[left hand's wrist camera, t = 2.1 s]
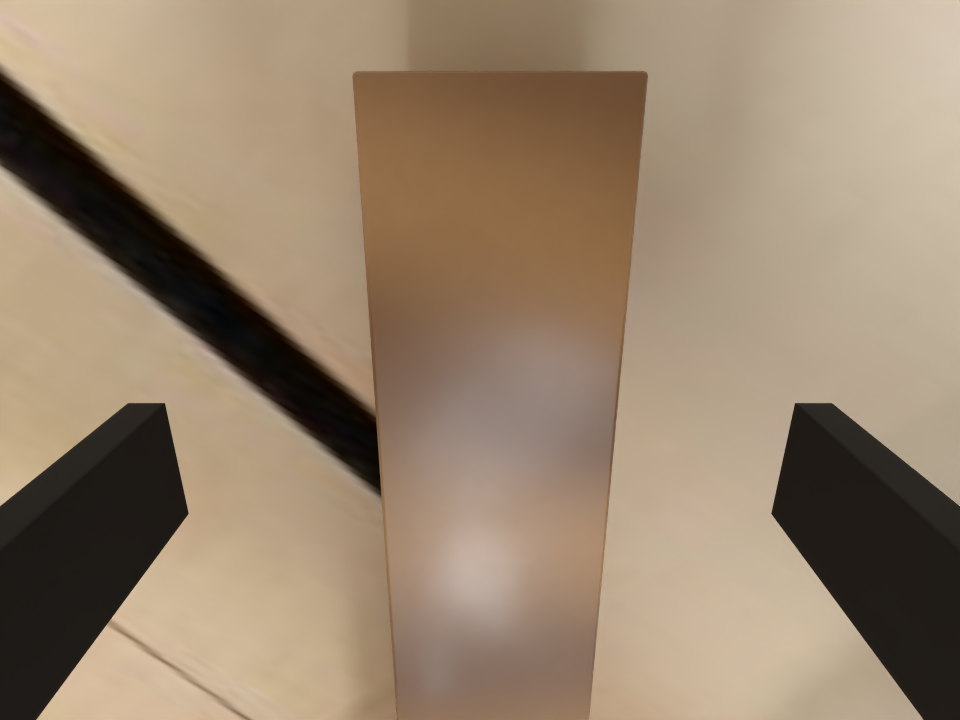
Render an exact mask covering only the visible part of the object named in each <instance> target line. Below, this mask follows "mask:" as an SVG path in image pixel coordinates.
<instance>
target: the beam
mask: <svg viewBox="0 0 960 720" xmlns="http://www.w3.org/2000/svg"><path fill="white" fill-rule="evenodd" d="M647 80H648V75H647V72H644V71H357V72H355V73H354V74H353V88H354V103H355V117H356V132H357V146H358V161H359V175H360V190H361V204H362V218H363V233H364V247H365V262H366V276H367V291H368V305H369V320H370V334H371V348H372V363H373V377H374V392H375V406H376V421H377V435H378V450H379V464H380V478H381V493H382V507H383V522H384V536H385V551H386V565H387V579H388V594H389V608H390V623H391V637H392V652H393V666H394V681H395V695H396V709H397V720H589V712H590V701H591V691H592V680H593V669H594V658H595V647H596V636H597V625H598V614H599V603H600V592H601V581H602V571H603V560H604V549H605V538H606V527H607V516H608V505H609V494H610V483H611V472H612V461H613V451H614V440H615V429H616V418H617V407H618V396H619V385H620V374H621V363H622V352H623V342H624V331H625V320H626V309H627V298H628V287H629V276H630V265H631V254H632V243H633V232H634V222H635V211H636V200H637V189H638V178H639V167H640V156H641V145H642V134H643V123H644V112H645V102H646V91H647Z"/></svg>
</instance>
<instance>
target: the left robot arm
mask: <svg viewBox="0 0 960 720" xmlns="http://www.w3.org/2000/svg"><path fill="white" fill-rule="evenodd" d="M188 514H189V513H188V509H187V504H186V499H185V495H184V490H183V485H182V481H181V476H180V472H179V467H178V462H177V458H176V453H175V448H174V444H173V439H172V434H171V430H170V425H169V420H168V416H167V411H166V406H165V403H128V404H127V405H125V406H124V407H123V408H122V409H120V410H119V411H118V412H117V413H115V414H114V415H113V416H112V417H111V418H109V419H108V420H107V421H106V422H104V423H103V424H102V425H101V426H99V427H98V428H97V429H96V430H94V431H93V432H92V433H91V434H89V435H88V436H87V437H86V438H84V439H83V440H82V441H81V442H79V443H78V444H77V445H76V446H74V447H73V448H72V449H71V450H70V451H68V452H67V453H66V454H65V455H63V456H62V457H61V458H60V459H58V460H57V461H56V462H55V463H53V464H52V465H51V466H50V467H48V468H47V469H46V470H45V471H43V472H42V473H41V474H40V475H38V476H37V477H36V478H35V479H34V480H32V481H31V482H30V483H29V484H27V485H26V486H25V487H24V488H22V489H21V490H20V491H19V492H17V493H16V494H15V495H14V496H12V497H11V498H10V499H9V500H7V501H6V502H5V503H4V504H2V505H1V506H0V720H36V719H37V718H38V717H39V715H40V714H41V713H42V711H43V710H44V709H45V707H46V706H47V705H48V703H49V702H50V700H51V699H52V698H53V696H54V695H55V694H56V692H57V691H58V690H59V688H60V687H61V686H62V684H63V683H64V682H65V680H66V679H67V677H68V676H69V675H70V673H71V672H72V671H73V669H74V668H75V667H76V665H77V664H78V663H79V661H80V660H81V659H82V657H83V656H84V654H85V653H86V652H87V650H88V649H89V648H90V646H91V645H92V644H93V642H94V641H95V640H96V638H97V637H98V636H99V634H100V633H101V632H102V630H103V629H104V627H105V626H106V625H107V623H108V622H109V621H110V619H111V618H112V617H113V615H114V614H115V613H116V611H117V610H118V609H119V607H120V606H121V604H122V603H123V602H124V600H125V599H126V598H127V596H128V595H129V594H130V592H131V591H132V590H133V588H134V587H135V586H136V584H137V583H138V581H139V580H140V579H141V577H142V576H143V575H144V573H145V572H146V571H147V569H148V568H149V567H150V565H151V564H152V563H153V561H154V560H155V559H156V557H157V556H158V554H159V553H160V552H161V550H162V549H163V548H164V546H165V545H166V544H167V542H168V541H169V540H170V538H171V537H172V536H173V534H174V533H175V531H176V530H177V529H178V527H179V526H180V525H181V523H182V522H183V521H184V519H185V518H186V517H187V515H188ZM771 514H772V515H773V517H774V518H775V519H776V521H777V522H778V523H779V525H780V526H781V527H782V529H783V530H784V531H785V533H786V534H787V536H788V537H789V538H790V540H791V541H792V542H793V544H794V545H795V546H796V548H797V549H798V550H799V552H800V553H801V554H802V556H803V557H804V559H805V560H806V561H807V563H808V564H809V565H810V567H811V568H812V569H813V571H814V572H815V573H816V575H817V576H818V577H819V579H820V580H821V581H822V583H823V584H824V586H825V587H826V588H827V590H828V591H829V592H830V594H831V595H832V596H833V598H834V599H835V600H836V602H837V603H838V604H839V606H840V607H841V609H842V610H843V611H844V613H845V614H846V615H847V617H848V618H849V619H850V621H851V622H852V623H853V625H854V626H855V627H856V629H857V630H858V632H859V633H860V634H861V636H862V637H863V638H864V640H865V641H866V642H867V644H868V645H869V646H870V648H871V649H872V650H873V652H874V653H875V654H876V656H877V657H878V659H879V660H880V661H881V663H882V664H883V665H884V667H885V668H886V669H887V671H888V672H889V673H890V675H891V676H892V677H893V679H894V680H895V682H896V683H897V684H898V686H899V687H900V688H901V690H902V691H903V692H904V694H905V695H906V696H907V698H908V699H909V700H910V702H911V703H912V705H913V706H914V707H915V709H916V710H917V711H918V713H919V714H920V715H921V717H922V718H923V719H924V720H960V506H959V505H958V504H956V503H955V502H954V501H953V500H951V499H950V498H949V497H948V496H946V495H945V494H944V493H943V492H941V491H940V490H939V489H938V488H936V487H935V486H934V485H933V484H931V483H930V482H929V481H928V480H926V479H925V478H924V477H923V476H922V475H920V474H919V473H918V472H917V471H915V470H914V469H913V468H912V467H910V466H909V465H908V464H907V463H905V462H904V461H903V460H902V459H900V458H899V457H898V456H897V455H895V454H894V453H893V452H892V451H890V450H889V449H888V448H887V447H886V446H884V445H883V444H882V443H881V442H879V441H878V440H877V439H876V438H874V437H873V436H872V435H871V434H869V433H868V432H867V431H866V430H864V429H863V428H862V427H861V426H859V425H858V424H857V423H856V422H854V421H853V420H852V419H851V418H849V417H848V416H847V415H846V414H845V413H843V412H842V411H841V410H840V409H838V408H837V407H836V406H835V405H833V404H832V403H795V406H794V411H793V416H792V420H791V425H790V430H789V434H788V439H787V444H786V448H785V453H784V458H783V462H782V467H781V471H780V476H779V481H778V485H777V490H776V495H775V499H774V504H773V509H772V513H771Z"/></svg>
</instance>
